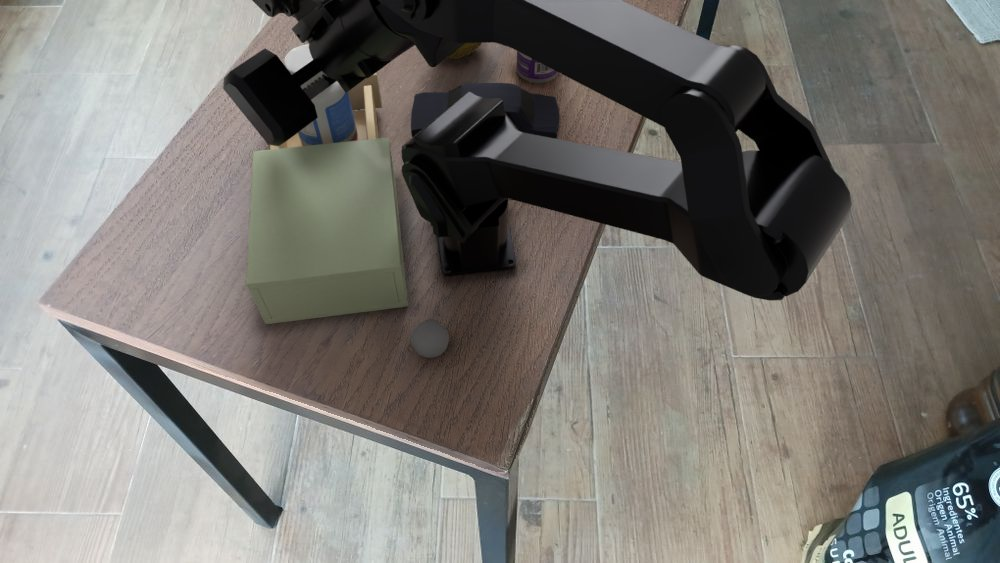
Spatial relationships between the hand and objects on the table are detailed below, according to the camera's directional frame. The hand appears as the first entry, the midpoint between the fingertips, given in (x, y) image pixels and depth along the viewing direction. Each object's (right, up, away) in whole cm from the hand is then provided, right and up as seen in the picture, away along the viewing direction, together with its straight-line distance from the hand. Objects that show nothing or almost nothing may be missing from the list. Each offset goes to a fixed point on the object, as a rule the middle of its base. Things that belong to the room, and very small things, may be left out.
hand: (303, 78), depth 65 cm
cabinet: (+3, -15, 0) cm, 15 cm away
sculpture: (+13, +7, +16) cm, 22 cm away
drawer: (+1, -4, +7) cm, 8 cm away
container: (+22, +5, +14) cm, 27 cm away
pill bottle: (+1, -5, +5) cm, 7 cm away
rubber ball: (+12, -23, -7) cm, 27 cm away
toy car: (+16, -3, +9) cm, 19 cm away
